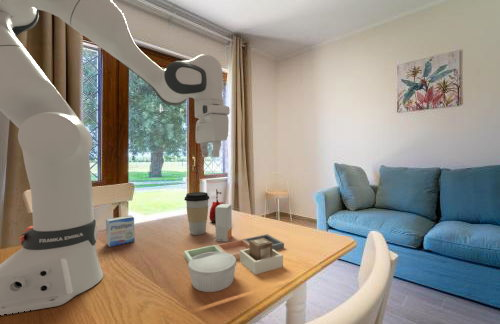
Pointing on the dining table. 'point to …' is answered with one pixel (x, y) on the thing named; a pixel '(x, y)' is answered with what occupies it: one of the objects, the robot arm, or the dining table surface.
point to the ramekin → (212, 271)
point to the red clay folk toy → (212, 210)
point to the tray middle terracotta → (234, 247)
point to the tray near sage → (200, 251)
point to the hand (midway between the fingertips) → (210, 157)
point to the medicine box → (120, 230)
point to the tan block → (260, 249)
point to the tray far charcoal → (275, 243)
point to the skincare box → (223, 222)
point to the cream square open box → (261, 262)
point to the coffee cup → (197, 211)
